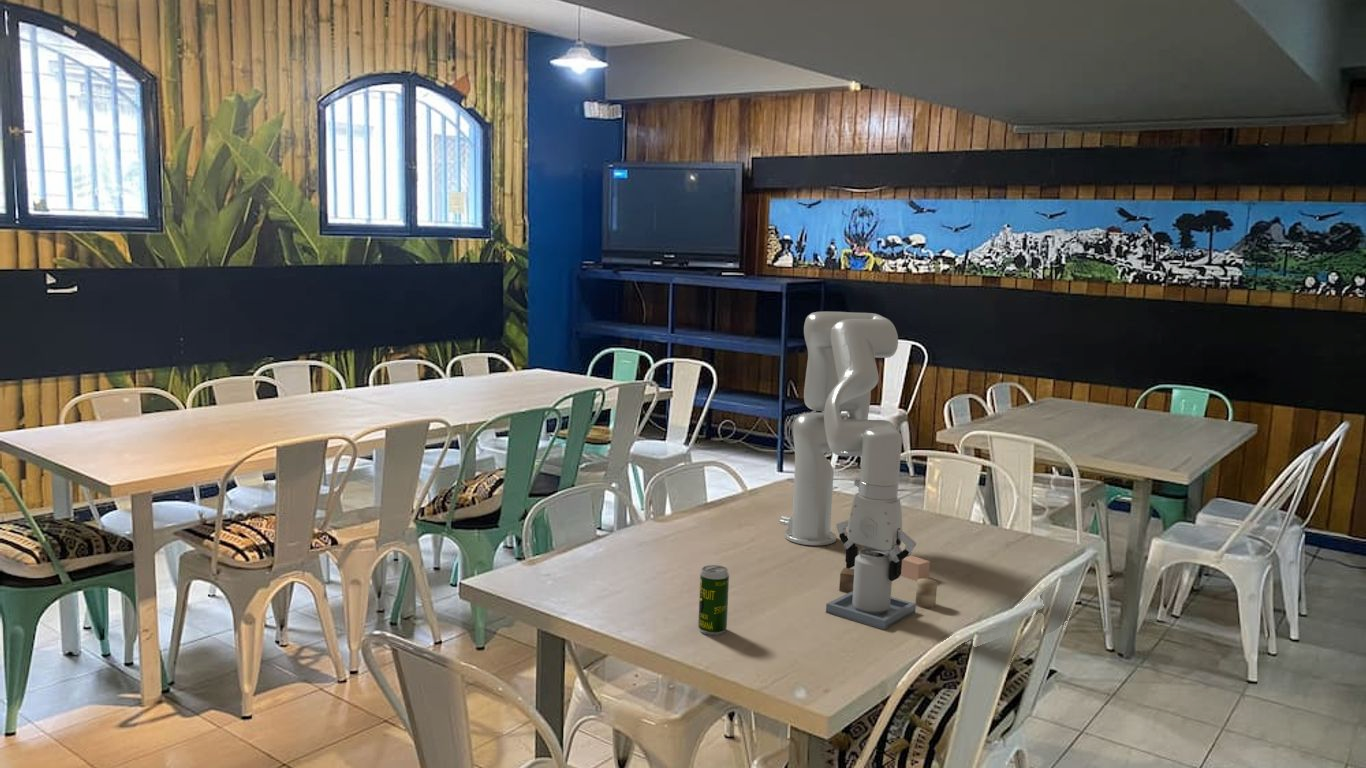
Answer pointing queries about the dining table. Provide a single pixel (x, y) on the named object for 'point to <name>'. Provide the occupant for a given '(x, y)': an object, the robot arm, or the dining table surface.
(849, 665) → the dining table surface
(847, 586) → the walnut block
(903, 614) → the tray
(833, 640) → the dining table surface
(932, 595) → the cork cylinder
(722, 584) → the green drink can
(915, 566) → the terracotta block
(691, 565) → the dining table surface
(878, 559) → the can
